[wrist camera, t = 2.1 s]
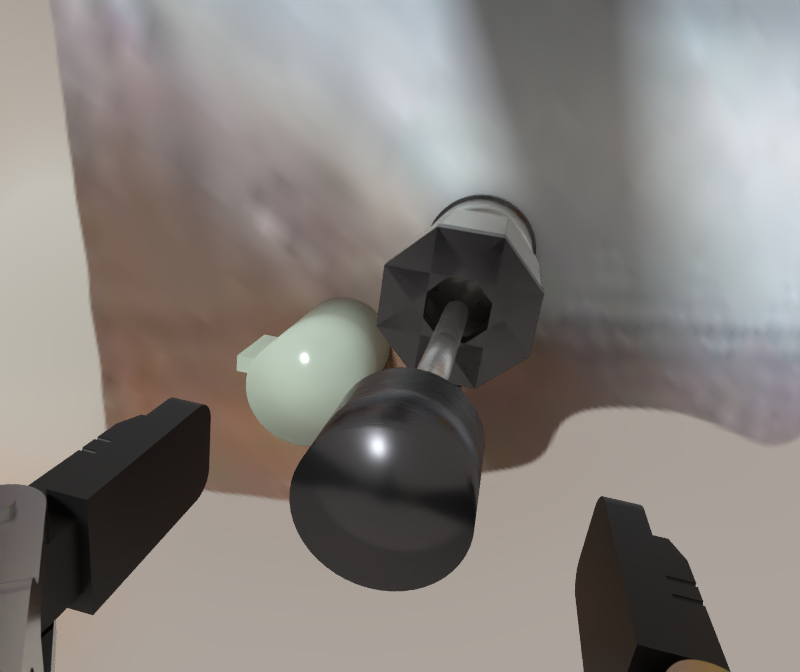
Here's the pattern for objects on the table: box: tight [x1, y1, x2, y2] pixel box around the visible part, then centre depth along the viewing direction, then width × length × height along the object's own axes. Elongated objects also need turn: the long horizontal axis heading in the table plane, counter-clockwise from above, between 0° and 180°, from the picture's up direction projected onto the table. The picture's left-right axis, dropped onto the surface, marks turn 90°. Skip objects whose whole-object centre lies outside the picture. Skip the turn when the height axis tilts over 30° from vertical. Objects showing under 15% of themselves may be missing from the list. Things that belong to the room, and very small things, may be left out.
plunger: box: [290, 301, 485, 591], centre depth 18 cm, size 4×4×14 cm
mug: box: [237, 298, 390, 446], centre depth 37 cm, size 6×8×9 cm
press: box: [377, 195, 544, 390], centre depth 31 cm, size 9×7×14 cm
